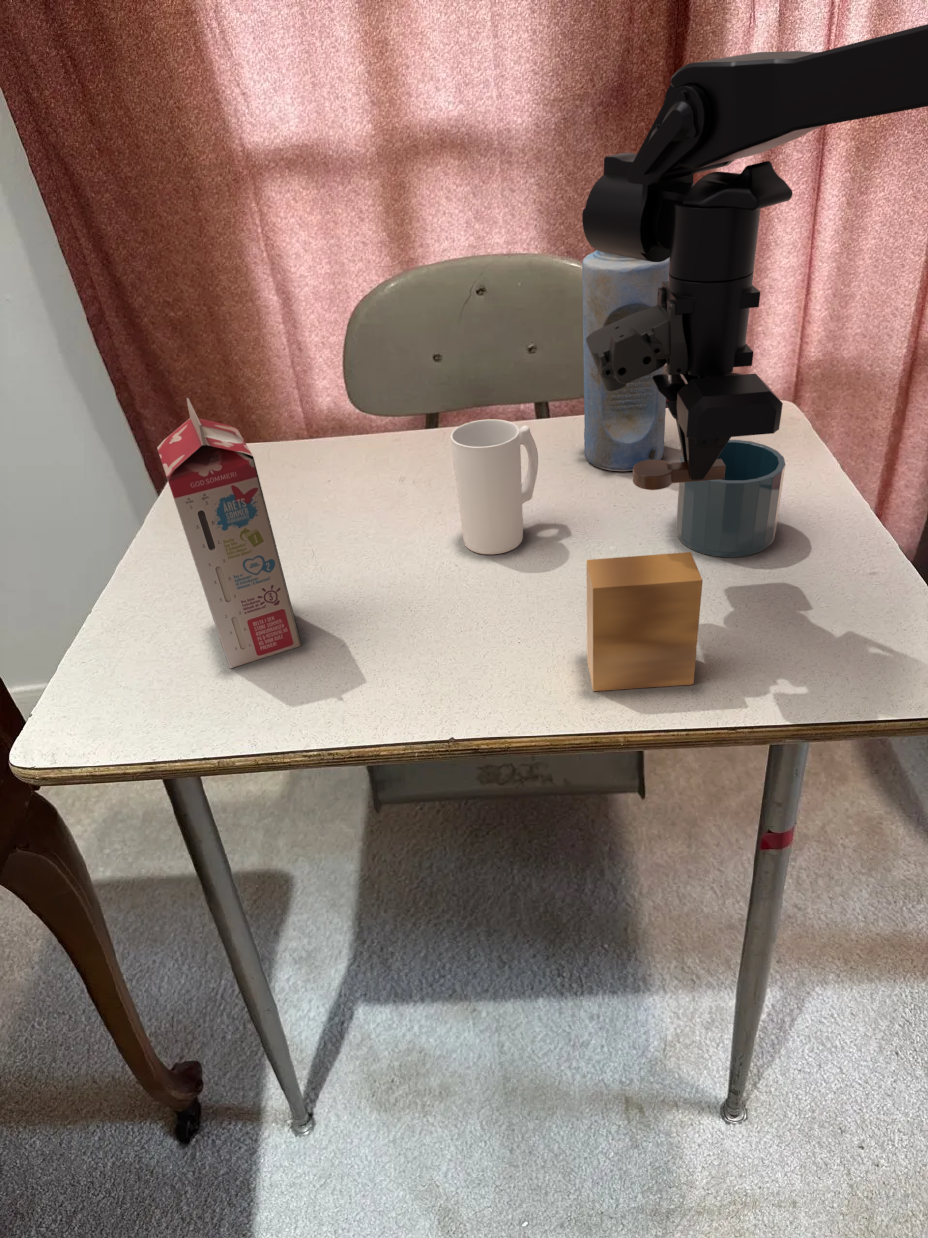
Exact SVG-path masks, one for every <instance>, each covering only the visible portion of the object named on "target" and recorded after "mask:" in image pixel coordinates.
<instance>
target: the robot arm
mask: <svg viewBox="0 0 928 1238" xmlns="http://www.w3.org/2000/svg"><path fill="white" fill-rule="evenodd" d="M926 107H927V108H928V23H926V24H922V25H919V26H914V27H911V28H907V29H903V30H900V31H896V32H891V33H888V34H884V35H880V36H876V37H873V38H869V39H865V40H861V41H857V42H853V43H850V44H846V45H842V46H838V47H833V48H831V49H827V50H822V51H819V52H816V51H805V50H804V51H803V50H787V51H785V50H783V51H782V50H781V51H758V52H751V53H745V54H744V53H743V54H739V55H732V56H726V57H720V58H713V59H708V60H702V61H696V62H695V61H694V62H690V63H686V64H685V65H683V66H681V67H680V68H678V69H677V70H676V71H675V72H674V73H673V74H672V76H671V77H670V84H669V86H668V88H667V90H666V92H665V96H664V100H663V104H662V106H661V108H660V110H659V112H658V114H657V116H656V117H655V120H654V121H653V123H652V125H651V127H650V128H649V130H648V132H647V134H646V136H645V138H644V140H643V142H642V144H641V146H640V147H639V150H638V152H637V153H634V152H620V153H616V154H611V155H606V156H605V157H604V159H603V174H602V175H601V176H600V177H599V179H598V180H596V181H595V183H594V185H593V186H592V188H591V189H590V192H589V195H588V196H587V198H586V203H585V207H584V209H582V218H581V220H582V221H581V222H582V230H583V233H584V236H585V239H586V240H587V242H588V244H589V245H590V246H591V247H592V248H593V249H594V250H595V251H596V250H598V251H600V252H604V253H609V254H614V255H619V256H624V257H629V258H635V259H640V260H645V261H650V262H662V261H665V260H666V259H668V258H670V263H669V281H664V282H662V287H659V288H658V294H657V305H656V306H653V307H651V308H648V309H646V310H644V311H640V312H636V313H634V314H631V315H629V316H627V317H625V318H622V319H620V320H618V321H616V322H614V323H612V324H609V325H607V326H605V327H603V328H601V329H598V330H596V331H594V332H593V333H591V334H590V335H589V336H588V337H587V338H586V341H587V344H588V346H589V349H590V352H591V354H592V357H593V360H594V362H595V365H596V368H597V370H598V373H599V376H600V378H601V381H602V383H603V386H604V388H605V390H606V391H616V390H619V389H621V388H623V387H625V386H626V384H627V383H630V382H632V381H634V380H637V379H639V378H641V377H643V376H646V375H648V374H650V373H652V372H654V371H656V370H658V369H660V368H662V367H663V374H659V375H655V376H653V377H652V379H653V381H654V383H655V385H656V387H657V389H658V391H659V392H660V393H661V394H662V395H663V396H665V397H666V400H667V401H666V402H665V403H666V408H667V409H668V411H669V413H670V415H671V417H673V419H674V420H675V422H676V427H677V433H678V439H679V445H680V450H681V456H683V462H688V470H689V477H690V479H691V480H702V479H704V478H705V476H706V475H707V473H708V472H709V470H710V469H711V467H712V466H713V464H714V463H715V461H716V459H717V458H718V456H719V455H720V453H721V452H722V450H723V449H724V447H725V446H726V444H727V443H728V441H729V440H731V438H737V437H748V436H758V435H759V436H761V435H773V434H775V433H776V432H778V431H779V430H780V427H781V417H782V413H783V411H782V410H783V402H782V401H781V399H780V398H779V397H778V396H777V395H776V394H775V392H774V391H773V390H772V389H771V388H770V387H769V385H768V384H767V383H766V382H765V381H764V380H763V379H762V378H761V377H760V376H759V375H758V374H757V373H745V374H744V373H740V372H734V368H741V367H752V366H753V360H754V359H753V358H754V350H752V348H751V347H750V346H749V344H747V335H748V326H749V317H750V309H755V308H759V307H760V301H761V291H760V290H758V288H756V286H754V284H753V281H754V271H755V262H756V252H757V243H758V234H759V228H760V227H759V226H760V225H759V224H760V217H761V209H764V208H768V207H772V206H775V205H778V204H782V203H786V202H789V201H790V200H791V199H792V197H793V194H794V193H793V190H792V188H791V187H790V185H788V184H787V182H786V181H785V180H784V179H783V178H782V177H781V176H779V175H778V173H777V172H776V171H775V169H774V166H773V164H772V162H771V160H765V161H761V162H757V163H754V164H749V165H746V166H745V167H744V168H743V170H742V171H741V172H739V173H738V172H728V171H727V172H726V171H712V172H709V173H707V174H706V175H703V176H702V177H700V179H698V180H697V181H696V182H695V183H694V178H695V177H694V176H695V174H699V173H703V172H708V171H711V170H716V169H721V168H723V167H728V166H729V165H731V164H732V163H733V162H734V161H736V160H738V159H744V158H748V157H752V156H755V155H760V154H762V153H765V152H768V151H770V150H772V149H775V148H777V147H779V146H782V145H784V144H788V143H789V142H793V141H795V140H797V139H799V138H801V137H803V136H805V135H807V134H808V133H811V132H812V131H814V130H817V129H819V128H821V127H824V126H828V125H833V124H840V123H844V122H849V121H855V120H861V119H866V118H873V117H877V116H883V115H888V114H889V115H890V114H894V113H900V112H905V111H910V110H916V109H921V108H926Z"/></svg>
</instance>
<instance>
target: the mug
mask: <svg viewBox="0 0 928 1238" xmlns="http://www.w3.org/2000/svg"><path fill="white" fill-rule="evenodd" d="M449 438H450V444H451V445H450V446H451V455H452V462H453V467H454V468H453V470H454V477H455V484H456V492H457V493H456V494H457V500H458V509H459V515H460V516H459V517H460V523H461V531H462V538H463V544H464V545H465V547H466V548H467V549H468V550H470V551H471V552H474V553H477V554H482V555H497V554H498V555H501V554H504V553H508V552H510V551H512V550H514V549H516V548H518V547H519V546H520V545H521V543H522V542H523V539H524V515H523V513H524V512H523V504H525V503H526V502H528V501H531V500H532V498H533V495H534V490H535V486H536V481H537V475H538V471H539V451H538V446H537V444H536V442H535V439H534V437H533V435H532V432H531V428H530V426H528V425H522V426H520V427H519V426H518V425H517V424H515V423H514V422H512V421H510V420H504V419H495V418H492V419H491V418H488V419H480V420H473V421H469V422H466V423H464V424H461V425H458V426H457V427H455V428H454V429H453V430H452V431H451V433H450V437H449ZM521 445H522V446H524V448H525V450H526V453H527V459H528V461H527V462H528V463H527V470H526V474H525V478H524V480H523V482H522V455H521V453H522V452H521V451H522V450H521V449H522V448H521Z"/></svg>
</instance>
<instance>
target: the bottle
mask: <svg viewBox="0 0 928 1238" xmlns="http://www.w3.org/2000/svg"><path fill="white" fill-rule="evenodd" d="M669 263H670V258H668V259H666V260H665V261H662V262H650V261H645V260H640V259H635V258H629V257H624V256H619V255H614V254H609V253H604V252H600V251H598V250H595V251H593V252H591V253H589V254H587V255H586V256H585V257H584V258H583V260H582V262H581V264H582V265H581V267H582V268H581V272H582V273H581V275H582V338H583V339H582V345H583V347H582V348H583V355H582V357H583V359H582V360H583V411H584V412H583V413H584V415H583V418H584V421H583V423H584V428H583V440H584V442H583V444H584V450H583V451H584V452H583V455H584V458H585V459H586V461H587V462H588V463H590V464H591V465H593V466H594V467H597V468H599V469H602V470H606V471H613V472H629V471H630V472H631V471H632V472H633V467H634V465H635V464H637V463H638V462H641V461H644V460H652V459H653V460H662V458H663V456H664V453H665V435H666V432H665V431H666V412H667V411H666V410H667V409H666V408H667V405H666V403H665V402H667V398H666V397H665V396H663V395H662V394H661V393H660V392H659V391H658V389H657V387H656V385H655V383H654V381H653V379H652V377H653V376H655V375H659V374H663V367H662V368H660V369H658V370H656V371H654V372H652V373H650V374H648V375H646V376H643V377H641V378H639V379H637V380H634V381H632V382H630V383H627V384H626V386H625V387H623V388H621V389H619V390H616V391H606V390H605V388H604V386H603V383H602V381H601V378H600V376H599V373H598V370H597V368H596V365H595V362H594V360H593V357H592V354H591V352H590V349H589V346H588V344H587V341H586V338H587V337H588V336H589V335H590V334H591V333H593V332H594V331H596V330H598V329H601V328H603V327H605V326H607V325H609V324H612V323H614V322H616V321H618V320H620V319H622V318H625V317H627V316H629V315H631V314H634V313H636V312H640V311H644V310H646V309H648V308H651V307H653V306H656V305H657V294H658V288H659V287H662V282H664V281H669Z"/></svg>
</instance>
